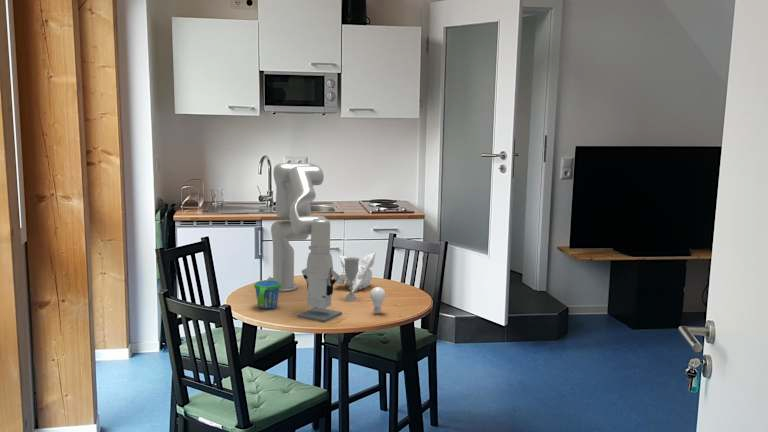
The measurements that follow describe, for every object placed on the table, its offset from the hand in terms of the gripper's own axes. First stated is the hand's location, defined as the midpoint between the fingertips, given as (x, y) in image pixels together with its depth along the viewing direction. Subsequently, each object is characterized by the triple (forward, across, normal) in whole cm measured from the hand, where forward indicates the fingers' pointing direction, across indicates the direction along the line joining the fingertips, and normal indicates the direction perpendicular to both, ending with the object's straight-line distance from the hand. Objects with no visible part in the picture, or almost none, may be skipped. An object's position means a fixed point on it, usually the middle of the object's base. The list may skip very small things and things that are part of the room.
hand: (319, 293), depth 263 cm
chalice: (+9, -2, +28) cm, 30 cm away
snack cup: (+9, -25, -1) cm, 27 cm away
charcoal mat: (+9, 0, 0) cm, 9 cm away
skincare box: (+5, 0, 0) cm, 5 cm away
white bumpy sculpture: (+10, -11, +47) cm, 49 cm away
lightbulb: (+9, +18, +15) cm, 25 cm away
